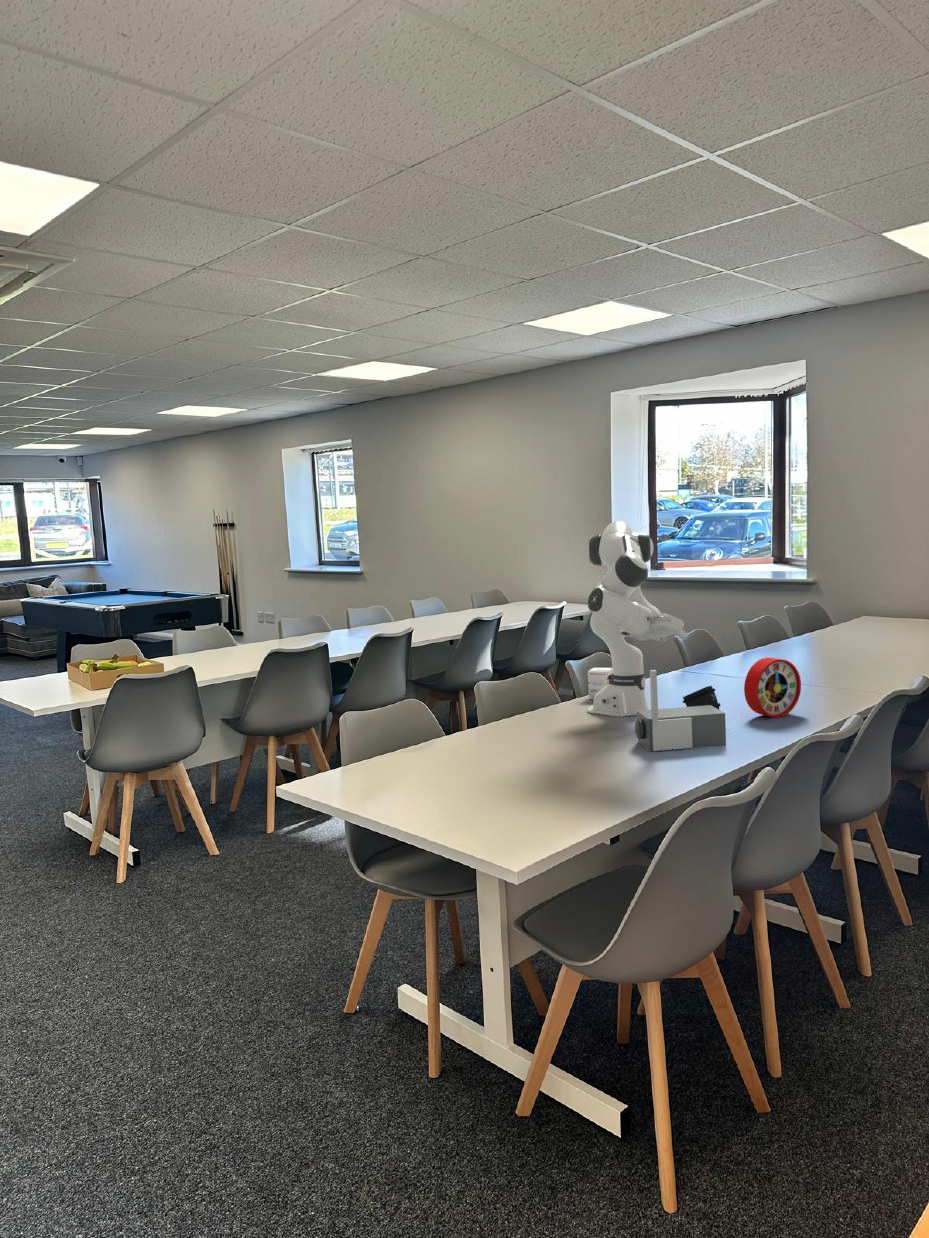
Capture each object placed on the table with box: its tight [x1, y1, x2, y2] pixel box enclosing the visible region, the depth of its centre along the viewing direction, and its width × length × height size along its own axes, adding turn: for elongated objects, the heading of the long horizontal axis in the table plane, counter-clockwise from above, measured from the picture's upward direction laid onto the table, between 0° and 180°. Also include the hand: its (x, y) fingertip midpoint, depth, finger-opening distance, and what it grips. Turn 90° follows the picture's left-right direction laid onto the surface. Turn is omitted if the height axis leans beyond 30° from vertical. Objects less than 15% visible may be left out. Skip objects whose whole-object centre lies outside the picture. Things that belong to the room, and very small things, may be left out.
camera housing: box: [634, 705, 727, 752], centre depth 264 cm, size 26×12×10 cm, turn 95°
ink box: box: [587, 667, 613, 701], centre depth 339 cm, size 9×8×12 cm
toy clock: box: [743, 657, 802, 718], centre depth 292 cm, size 20×6×20 cm, turn 114°
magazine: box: [682, 685, 722, 711], centre depth 278 cm, size 4×13×15 cm, turn 37°
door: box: [649, 669, 693, 752], centre depth 256 cm, size 12×2×25 cm, turn 95°
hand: (675, 637), depth 253 cm, fingers open, 8 cm apart
